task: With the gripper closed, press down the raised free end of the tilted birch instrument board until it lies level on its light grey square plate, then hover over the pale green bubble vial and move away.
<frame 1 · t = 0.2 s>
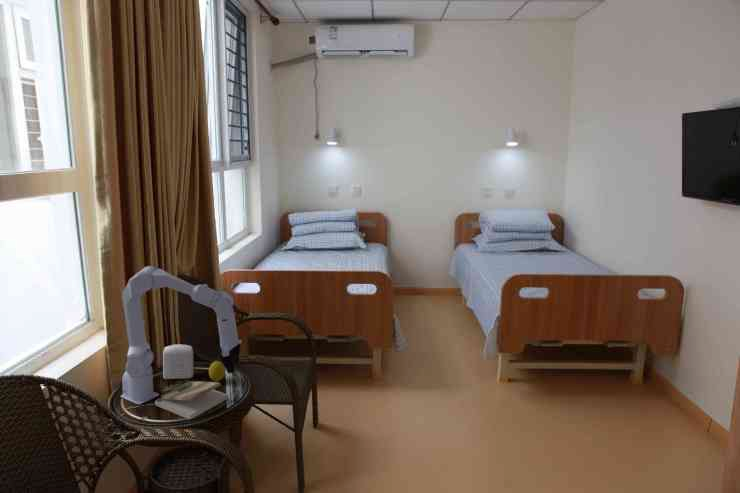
hand: (233, 367, 170), 10 cm above the table, tool pointing down, fingers open, 7 cm apart
light grey square plate: (192, 401, 166), on the table
instrument board: (190, 388, 166), point 5 cm above the table, hinge at 14.0°
lemon: (217, 382, 181), on the table
photo printer: (178, 377, 183), on the table
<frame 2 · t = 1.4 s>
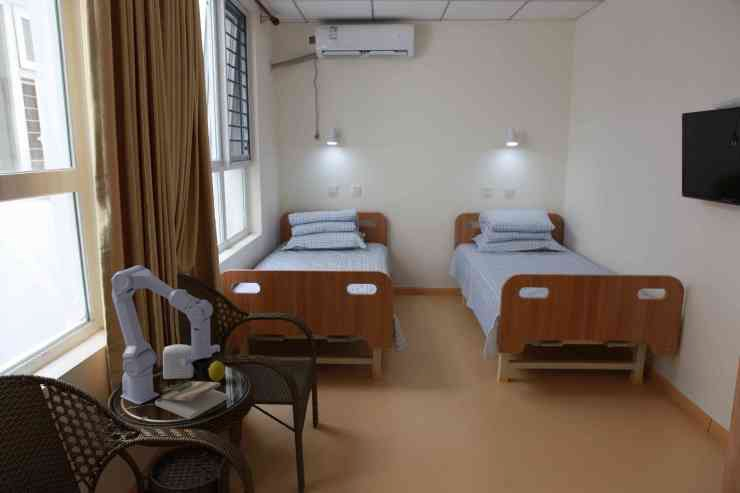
hand: (201, 378, 162), 9 cm above the table, tool pointing down, fingers closed
nothing on the table moved.
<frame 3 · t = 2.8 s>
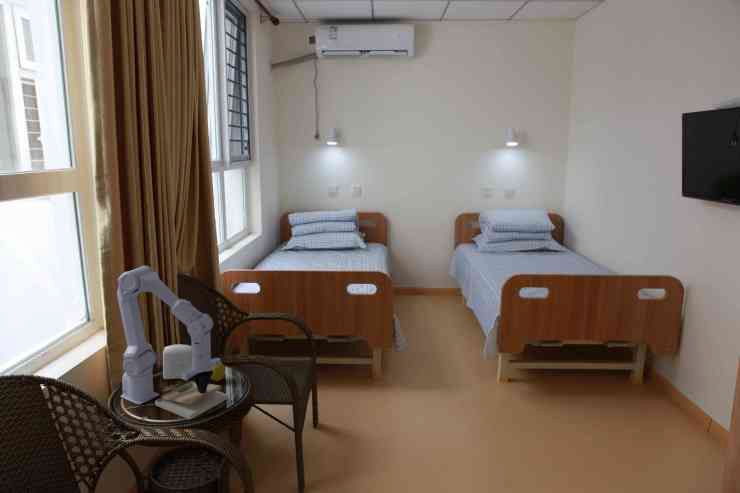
hand: (202, 392, 163), 5 cm above the table, tool pointing down, fingers closed, pressing on instrument board
instrument board: (191, 389, 166), point 4 cm above the table, hinge at 9.1°, touching gripper
everything else where it was.
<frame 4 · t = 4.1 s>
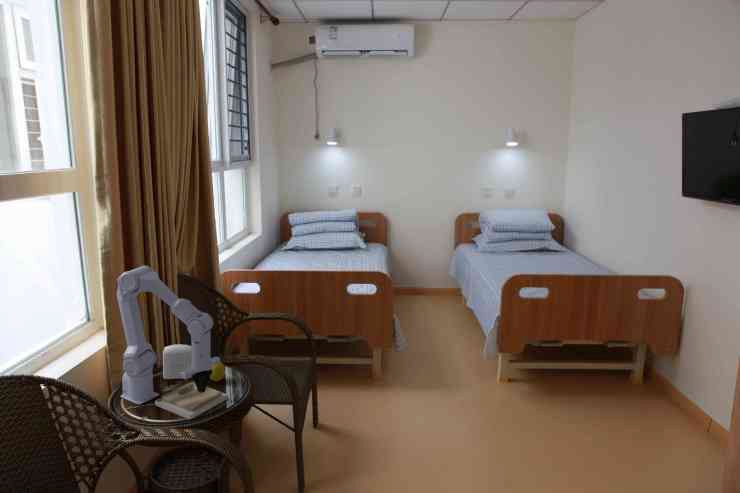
hand: (201, 391, 163), 5 cm above the table, tool pointing down, fingers closed
instrument board: (191, 393, 166), point 3 cm above the table, hinge at 0.1°
everything else where it was.
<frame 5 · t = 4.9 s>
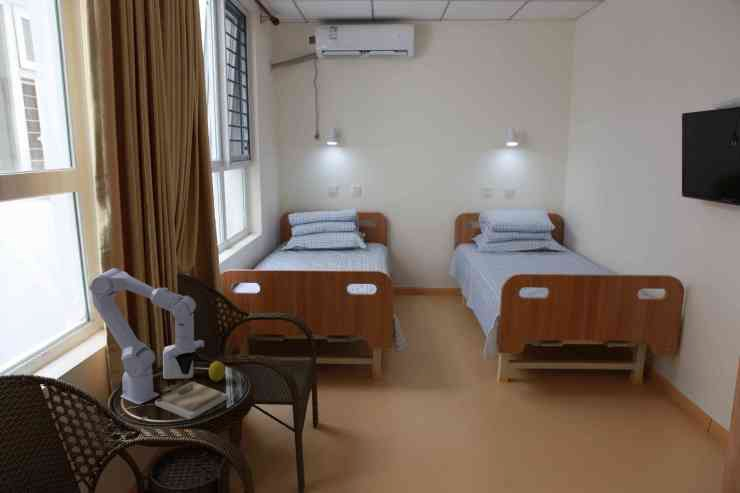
hand: (185, 373, 166), 9 cm above the table, tool pointing down, fingers closed
nothing on the table moved.
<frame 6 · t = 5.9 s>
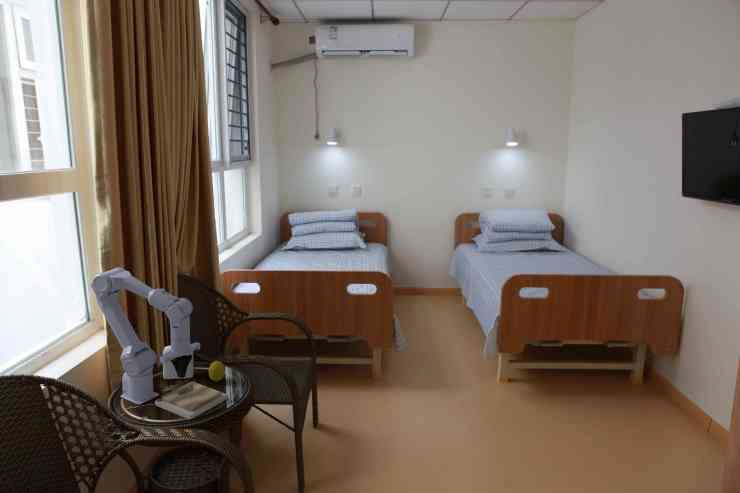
hand: (181, 376, 163), 9 cm above the table, tool pointing down, fingers closed
nothing on the table moved.
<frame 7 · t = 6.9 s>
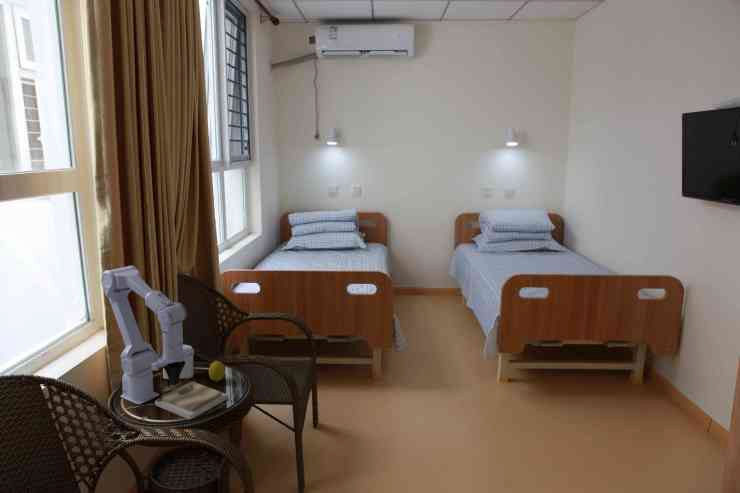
hand: (174, 383, 158), 9 cm above the table, tool pointing down, fingers closed
nothing on the table moved.
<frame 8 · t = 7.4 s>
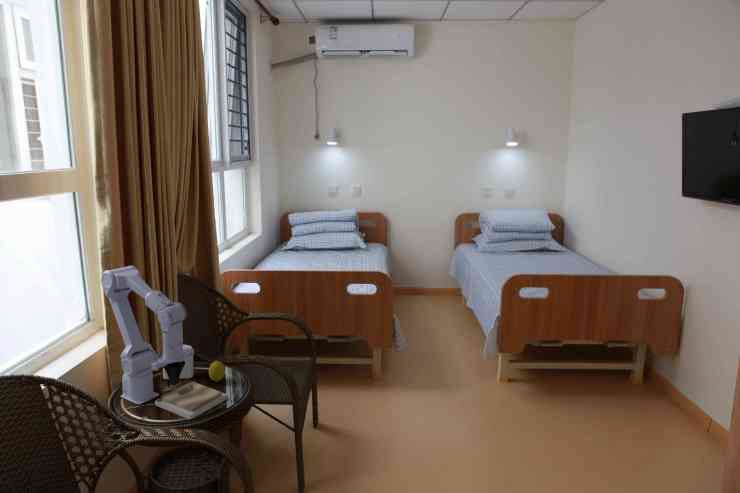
hand: (174, 383, 158), 9 cm above the table, tool pointing down, fingers closed
nothing on the table moved.
at the end: instrument board at +0° (first picture: +14°); lemon moved 0.2 cm from its start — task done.
